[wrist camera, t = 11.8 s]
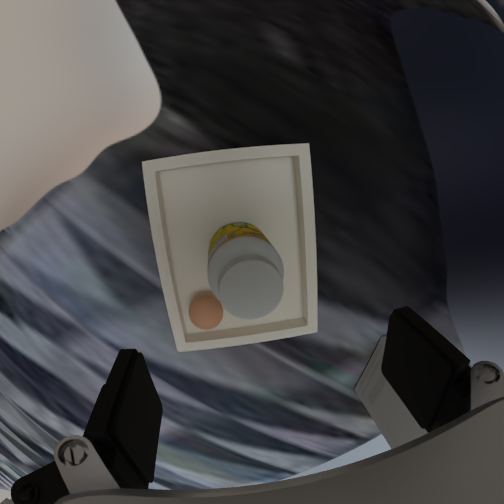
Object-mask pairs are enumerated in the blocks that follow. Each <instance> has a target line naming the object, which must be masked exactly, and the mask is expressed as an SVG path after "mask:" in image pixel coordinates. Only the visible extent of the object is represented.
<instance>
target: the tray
mask: <svg viewBox="0 0 504 504" xmlns="http://www.w3.org/2000/svg"><path fill="white" fill-rule="evenodd" d="M142 168H143V177H144V185H145V192H146V199H147V206H148V213H149V220H150V226H151V232H152V238H153V243H154V249H155V254H156V259H157V265H158V270H159V275H160V279H161V284H162V289H163V293H164V298H165V302H166V307H167V311H168V315H169V319H170V323H171V327H172V331H173V335H174V339H175V343H176V346H177V350H178V352H183V351H194V350H203V349H212V348H221V347H229V346H237V345H244V344H251V343H258V342H264V341H270V340H277V339H283V338H288V337H294V336H299V335H305V334H310V333H315V332H317V259H316V234H315V214H314V198H313V184H312V171H311V159H310V148H309V143H306V144H285V145H269V146H256V147H244V148H234V149H225V150H216V151H208V152H200V153H193V154H186V155H179V156H172V157H166V158H160V159H154V160H149V161H143V162H142ZM231 222H247V223H250V224H252V225H254V226H256V227H257V228H258V229H260V230H261V231H262V233H263V234H264V235H265V237H266V238H267V239H268V240H269V242H270V243H271V244H272V245H273V247H274V248H275V249H276V251H277V252H278V254H279V255H280V257H281V260H282V262H283V267H284V278H283V285H284V290H283V295H282V298H281V301H280V303H279V304H278V306H277V307H276V308H275V309H274V310H273V311H272V312H271V313H269V314H268V315H266V316H264V317H261V318H258V319H241V318H238V317H236V316H234V315H232V314H230V313H229V312H228V311H227V310H226V309H225V308H224V306H223V305H222V303H221V301H219V300H218V299H217V298H216V296H215V295H214V294H213V292H212V290H211V288H210V286H209V282H208V273H207V270H208V250H209V244H210V241H211V238H212V237H213V235H214V233H215V232H216V231H217V230H218V229H219V228H220V227H222V226H223V225H225V224H228V223H231ZM202 295H209V296H213V297H215V298H216V299H217V300H218V301H219V302H220V303H221V305H222V307H223V318H222V320H221V322H220V323H219V325H218V326H216V327H215V328H213V329H209V330H204V329H200V328H198V327H196V326H195V325H194V324H193V323H192V322H191V320H190V318H189V307H190V304H191V303H192V301H193V300H194V299H195V298H197V297H199V296H202Z"/></svg>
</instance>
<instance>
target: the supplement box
mask: <svg viewBox="0 0 504 504" xmlns="http://www.w3.org/2000/svg"><path fill="white" fill-rule="evenodd" d="M386 337H387V336H382V337H381V339H380V341H379V343H378V345H377V347H376V349H375V351H374V353H373V355H372V357H371V359H370V361H369V363H368V365H367V367H366V369H365V370H364V372H363V374H362V376H361V378H360V380H359V381H358V383H357V385H356V387H355V389H354V390H355V392H356V393H357V395H358V396H359V398H360V399H361V401H362V403H363V404H364V406H365V407H366V409H367V410H368V412H369V414H370V415H371V417H372V418H373V420H374V421H375V423H376V425H377V426H378V428H379V429H380V431H381V433H382V434H383V436H384V437H385V439H386V440H387V442H388V444H389V445H390V447H391V449H393V448H396V447H398V446H401V445H403V444H405V443H408V442H410V441H412V440H414V439H416V438H419V437H421V436H423V435H425V434H427V433H428V432H427V431H426V429H422V428H421V427H420V426H419V424H418V423H417V422H416V420H415V419H414V417H413V416H412V415H411V413H410V412H409V410H408V409H407V408H406V406H405V405H404V403H403V402H402V401H401V399H400V398H399V396H398V395H397V394H396V392H395V391H394V389H393V388H392V387H391V385H390V384H389V383H388V381H387V380H386V378H385V377H384V376H383V374H382V371H381V365H382V360H383V354H384V349H385V343H386Z"/></svg>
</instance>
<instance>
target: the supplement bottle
mask: <svg viewBox="0 0 504 504" xmlns="http://www.w3.org/2000/svg"><path fill="white" fill-rule="evenodd" d="M207 273H208V282H209V286H210V288H211V290H212V292H213V294H214V295H215V296H216V298H217V299H218V300H219V301H221V303H222V305H223V306H224V308H225V309H226V310H227V311H228V312H229V313H230V314H232V315H234V316H236V317H238V318H241V319H258V318H261V317H264V316H266V315H268V314H269V313H271V312H272V311H273V310H274V309H275V308H276V307H277V306H278V304H279V303H280V301H281V298H282V295H283V290H284V285H283V278H284V267H283V262H282V260H281V257H280V255H279V254H278V252H277V251H276V249H275V248H274V247H273V245H272V244H271V243H270V242H269V240H268V239H267V238H266V237H265V235H264V234H263V233H262V231H261V230H260V229H258V228H257V227H256V226H254V225H252V224H250V223H247V222H231V223H228V224H225V225H223V226H222V227H220V228H219V229H218V230H217V231H216V232H215V233H214V235H213V237H212V238H211V241H210V244H209V250H208V270H207Z"/></svg>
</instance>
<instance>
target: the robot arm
mask: <svg viewBox="0 0 504 504" xmlns="http://www.w3.org/2000/svg"><path fill="white" fill-rule="evenodd" d="M469 363H470V360H469V359H468V358H467V357H466V356H465V355H464V354H463V353H462V352H460V351H459V350H458V349H457V348H456V347H455V346H454V345H453V344H452V343H450V342H449V341H448V340H447V339H446V338H445V337H444V336H442V335H441V334H440V333H439V332H438V331H437V330H435V329H434V328H433V327H432V326H431V325H430V324H429V323H427V322H426V321H425V320H424V319H423V318H421V317H420V316H419V315H418V314H417V313H416V312H414V311H413V310H412V309H411V308H410V307H408V306H406V307H402V308H398V309H395V310H394V311H393V313H392V314H391V315H390V317H389V324H388V331H387V337H386V343H385V349H384V354H383V360H382V365H381V371H382V374H383V376H384V377H385V378H386V380H387V381H388V383H389V384H390V385H391V387H392V388H393V389H394V391H395V392H396V394H397V395H398V396H399V398H400V399H401V401H402V402H403V403H404V405H405V406H406V408H407V409H408V410H409V412H410V413H411V415H412V416H413V417H414V419H415V420H416V422H417V423H418V424H419V426H420V427H421V428H422V429H426V431H427V432H428V433H427V434H425V435H423V436H421V437H419V438H416V439H414V440H412V441H410V442H408V443H405V444H403V445H401V446H398V447H396V448H393V449H391V450H388V451H386V452H383V453H380V454H378V455H375V456H372V457H369V458H366V459H364V460H361V461H358V462H354V463H352V464H348V465H345V466H342V467H338V468H334V469H331V470H327V471H323V472H319V473H315V474H311V475H307V476H302V477H298V478H293V479H288V480H282V481H277V482H271V483H264V484H257V485H250V486H241V487H231V488H218V489H196V490H156V489H148V485H149V483H152V482H153V479H154V471H155V462H156V454H157V447H158V439H159V432H160V425H161V419H162V412H163V409H162V403H161V401H160V399H159V396H158V394H157V391H156V389H155V386H154V384H153V381H152V378H151V376H150V373H149V371H148V368H147V365H146V362H145V360H144V357H143V354H142V353H141V352H139V353H138V351H137V350H136V349H121V350H120V351H119V353H118V356H117V358H116V360H115V363H114V365H113V367H112V370H111V372H110V374H109V377H108V379H107V381H106V384H104V385H103V387H102V388H101V391H100V393H99V396H98V398H97V401H96V403H95V406H94V408H93V411H92V413H91V416H90V418H89V421H88V424H87V426H86V429H85V432H84V435H83V436H78V435H76V436H69V437H66V438H64V439H63V440H61V441H60V442H59V443H58V444H57V446H56V448H55V450H54V459H55V461H53V462H52V463H50V464H48V465H46V466H44V467H42V468H40V469H38V470H36V471H34V472H32V473H30V474H28V475H26V476H24V477H21V478H20V479H18V480H17V481H16V482H15V483H14V484H13V486H12V489H11V497H12V499H10V500H9V499H7V498H6V499H5V500H4V501H3V502H1V503H0V504H504V374H503V371H502V369H501V368H500V367H499V366H498V365H497V364H495V363H493V362H489V361H480V362H477V363H475V364H474V365H473V366H472V368H471V367H470V366H469Z"/></svg>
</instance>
